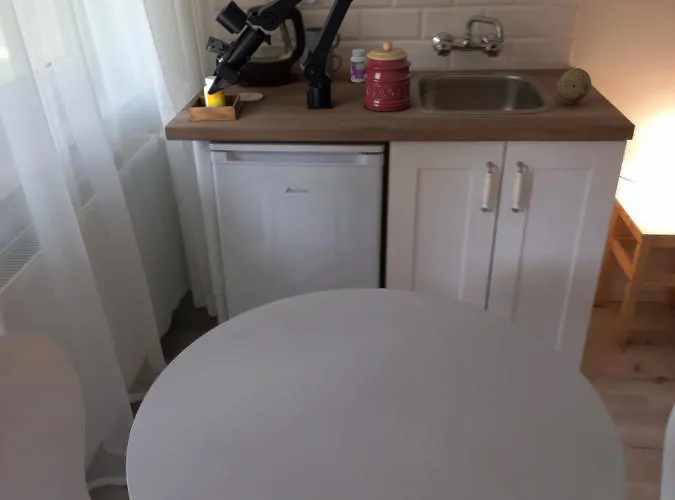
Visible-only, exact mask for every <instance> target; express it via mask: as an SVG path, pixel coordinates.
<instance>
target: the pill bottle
mask: <svg viewBox="0 0 675 500" xmlns="http://www.w3.org/2000/svg"><path fill="white" fill-rule="evenodd" d="M367 60H368V57H367V56H366V50H365V49H364V48H354V49H352V56H351V57H350V81H351V82H354V83H365V78H364V75H365V74H366V67H365V66H364V63H365V62H366V61H367Z"/></svg>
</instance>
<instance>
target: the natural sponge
mask: <svg viewBox="0 0 675 500" xmlns="http://www.w3.org/2000/svg"><path fill="white" fill-rule="evenodd" d="M591 88H592V79H591V76H590V75H589V73H588V72H587V71H586V69H585V70H584V69H582V68H581V67H573V68H570V69H567V70H566V71H565V72H564V73H563V74H562V75H561V76H560V77H559V79H558V81H557V83H556V85H555V95H556V96H558V97H559V98H560V99H561V100H562V101H563V102H565V104H568V105H575V104H577V103H579V102H580V101H581V100H583V99H584V98H586V97H587V95H588V94H589V93H590V91H591Z"/></svg>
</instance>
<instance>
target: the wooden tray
mask: <svg viewBox="0 0 675 500" xmlns="http://www.w3.org/2000/svg"><path fill="white" fill-rule="evenodd" d="M237 94H238V95H237ZM237 94H224V95H225V105H226V106H219V107H206V101H205V94H204V95H197V96H196V97H195V99H194V100H193V101H192V103H191V105H190V106H189V107H188V110H189V117H190V121H191V122H196V121H198V122H201V121H204V122H205V121H232V120H233V121H234V120H235V121H236V120H237V118H238V116H239V113H240V111H241V109H242V102H241V98H240V94H241V93H237Z"/></svg>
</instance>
